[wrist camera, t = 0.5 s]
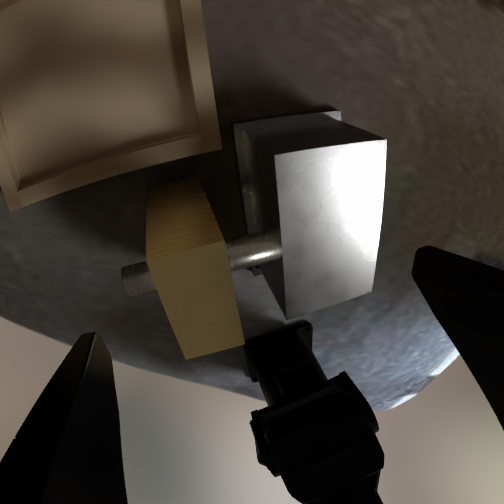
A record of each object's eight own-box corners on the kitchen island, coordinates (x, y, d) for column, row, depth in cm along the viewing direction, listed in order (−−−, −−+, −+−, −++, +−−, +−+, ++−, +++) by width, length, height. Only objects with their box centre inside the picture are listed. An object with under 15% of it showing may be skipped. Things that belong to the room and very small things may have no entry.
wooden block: (215, 258, 21) (245, 344, 15) (171, 269, 21) (186, 359, 15) (197, 174, 18) (224, 240, 12) (147, 187, 18) (145, 260, 11)
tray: (216, 141, 18) (222, 149, 17) (20, 199, 16) (10, 212, 14) (187, -58, 11) (191, -69, 9) (-22, 14, 9) (-35, 12, 7)
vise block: (335, 248, 25) (376, 294, 20) (154, 297, 23) (159, 360, 18) (335, 109, 19) (394, 129, 14) (105, 153, 16) (85, 189, 12)
